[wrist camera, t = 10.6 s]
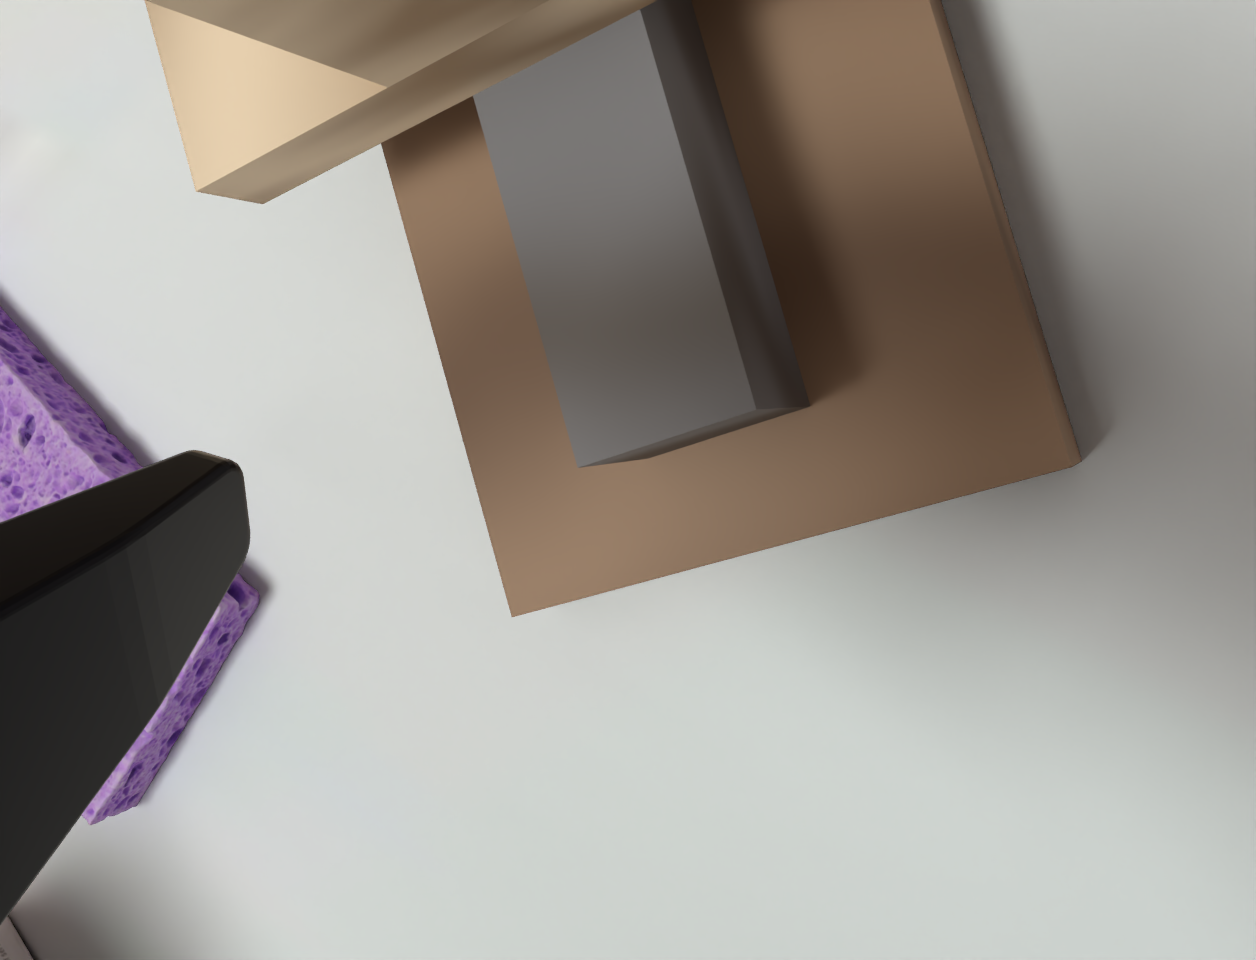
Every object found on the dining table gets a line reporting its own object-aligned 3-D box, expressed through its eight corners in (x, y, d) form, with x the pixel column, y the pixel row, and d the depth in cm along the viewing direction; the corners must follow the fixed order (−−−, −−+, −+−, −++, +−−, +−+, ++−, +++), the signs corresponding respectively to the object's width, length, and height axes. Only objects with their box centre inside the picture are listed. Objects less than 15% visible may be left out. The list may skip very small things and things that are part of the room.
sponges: (152, 804, 29) (87, 830, 28) (-116, 471, 33) (-188, 476, 31) (284, 595, 27) (222, 609, 25) (-20, 262, 31) (-93, 255, 29)
